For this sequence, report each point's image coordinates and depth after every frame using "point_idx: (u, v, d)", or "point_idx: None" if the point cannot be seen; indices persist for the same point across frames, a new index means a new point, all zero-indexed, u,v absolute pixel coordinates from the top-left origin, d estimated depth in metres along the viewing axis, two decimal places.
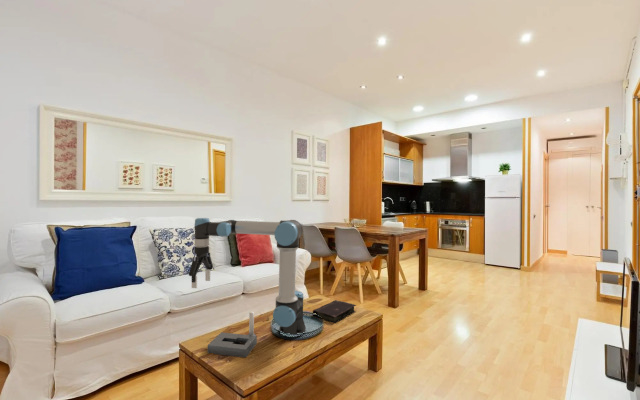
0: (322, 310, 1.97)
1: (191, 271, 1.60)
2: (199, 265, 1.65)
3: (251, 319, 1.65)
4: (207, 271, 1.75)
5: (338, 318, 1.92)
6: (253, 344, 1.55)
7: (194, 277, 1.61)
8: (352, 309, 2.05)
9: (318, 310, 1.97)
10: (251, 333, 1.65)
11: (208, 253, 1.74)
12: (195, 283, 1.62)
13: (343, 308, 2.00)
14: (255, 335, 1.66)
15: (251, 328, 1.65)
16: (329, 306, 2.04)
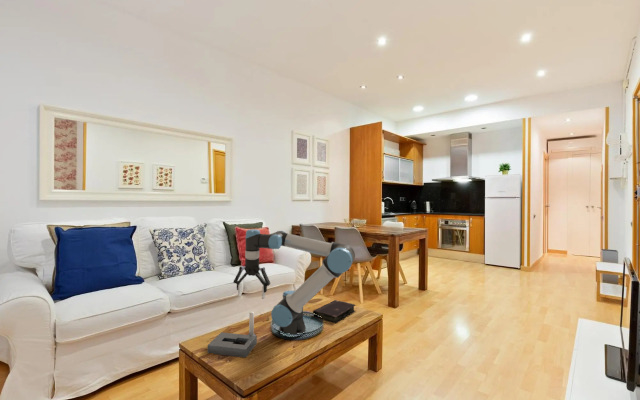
0: (322, 310, 1.97)
1: None
2: (244, 276, 1.65)
3: (251, 319, 1.65)
4: None
5: (338, 318, 1.92)
6: (253, 344, 1.55)
7: (237, 285, 1.66)
8: (352, 309, 2.05)
9: (318, 310, 1.97)
10: (251, 333, 1.65)
11: (261, 268, 1.64)
12: None
13: (343, 308, 2.00)
14: (255, 335, 1.66)
15: (251, 328, 1.65)
16: (329, 306, 2.04)
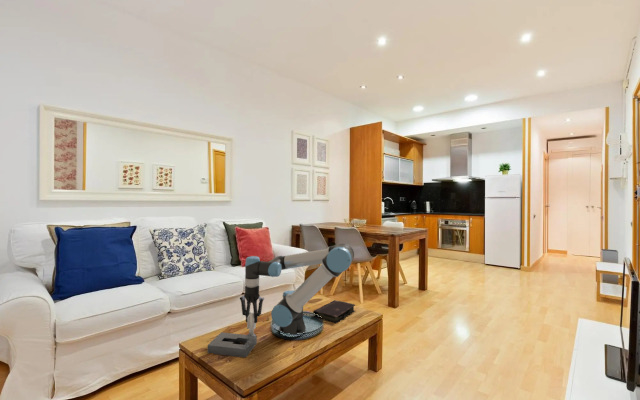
0: (323, 310, 1.97)
1: None
2: (247, 305, 1.65)
3: (251, 319, 1.65)
4: None
5: (339, 318, 1.92)
6: (253, 344, 1.55)
7: (246, 317, 1.66)
8: (352, 309, 2.06)
9: (319, 310, 1.97)
10: (251, 333, 1.65)
11: (261, 298, 1.64)
12: None
13: (343, 308, 2.00)
14: (255, 335, 1.66)
15: (251, 328, 1.65)
16: (329, 306, 2.04)
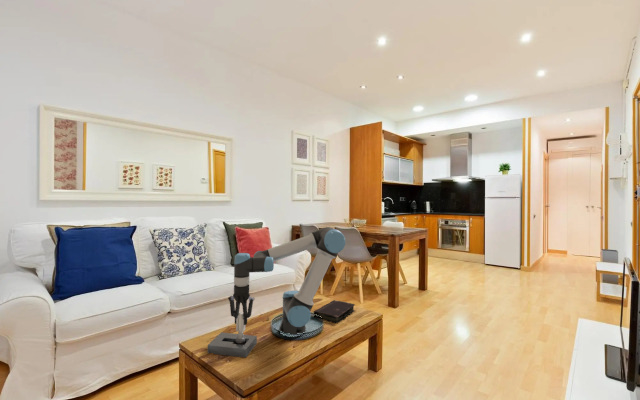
0: (323, 311, 1.96)
1: None
2: (237, 306, 1.53)
3: (240, 321, 1.53)
4: None
5: (340, 318, 1.92)
6: (253, 344, 1.55)
7: (235, 318, 1.54)
8: (352, 309, 2.06)
9: (319, 311, 1.96)
10: (240, 336, 1.53)
11: (251, 298, 1.52)
12: None
13: (343, 308, 2.00)
14: None
15: (240, 330, 1.53)
16: (329, 306, 2.04)
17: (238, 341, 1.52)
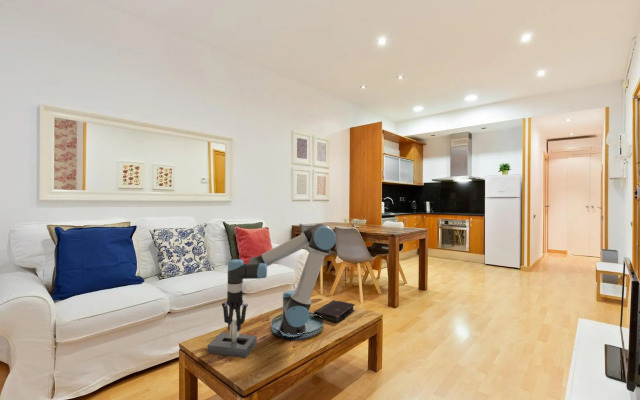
0: (323, 311, 1.96)
1: None
2: (230, 312, 1.54)
3: (234, 327, 1.54)
4: None
5: (340, 318, 1.92)
6: (253, 344, 1.55)
7: (229, 325, 1.55)
8: (352, 308, 2.06)
9: (319, 311, 1.96)
10: (234, 342, 1.54)
11: (244, 305, 1.53)
12: None
13: (344, 308, 2.00)
14: None
15: (234, 336, 1.54)
16: (329, 306, 2.04)
17: None
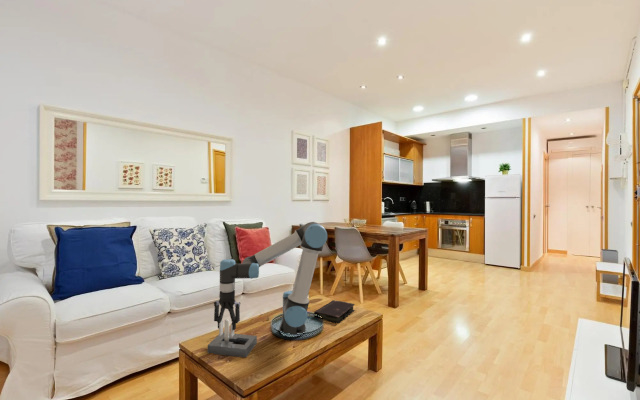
0: (323, 311, 1.96)
1: None
2: (221, 311, 1.55)
3: (226, 327, 1.55)
4: None
5: (340, 318, 1.92)
6: (253, 344, 1.55)
7: (218, 323, 1.56)
8: (351, 308, 2.06)
9: (319, 311, 1.96)
10: None
11: (236, 304, 1.54)
12: None
13: (344, 308, 2.01)
14: None
15: (226, 337, 1.55)
16: (329, 306, 2.04)
17: None
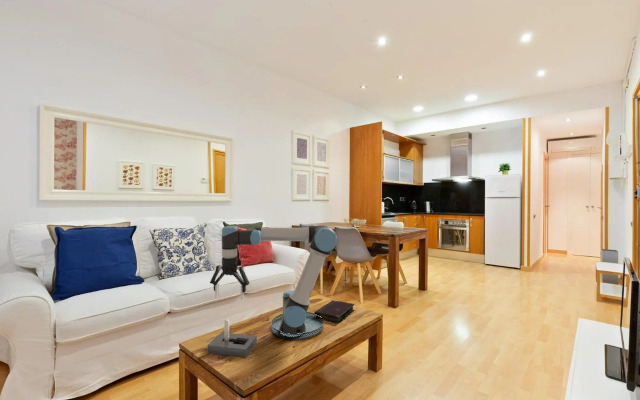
0: (324, 311, 1.96)
1: None
2: (221, 275, 1.56)
3: (226, 327, 1.55)
4: None
5: (341, 318, 1.92)
6: (253, 344, 1.55)
7: (214, 286, 1.57)
8: (351, 308, 2.07)
9: (320, 311, 1.95)
10: None
11: (239, 267, 1.54)
12: None
13: (344, 308, 2.01)
14: None
15: (226, 337, 1.55)
16: (329, 306, 2.03)
17: None
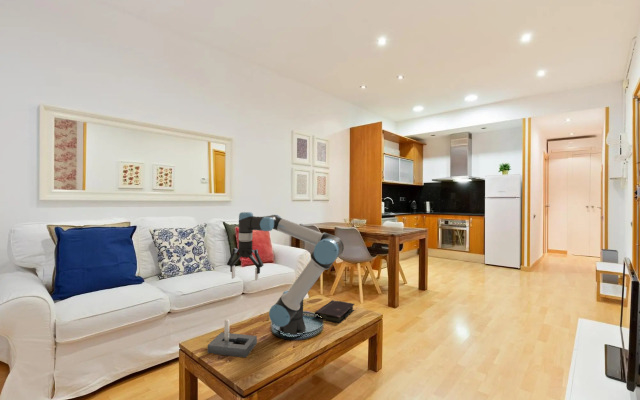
0: (324, 311, 1.95)
1: None
2: (237, 258, 1.68)
3: (226, 327, 1.55)
4: None
5: (341, 318, 1.92)
6: (253, 344, 1.55)
7: (231, 267, 1.69)
8: (351, 308, 2.07)
9: (320, 311, 1.95)
10: None
11: (254, 250, 1.66)
12: None
13: (344, 308, 2.01)
14: None
15: (226, 337, 1.55)
16: (329, 307, 2.03)
17: None
